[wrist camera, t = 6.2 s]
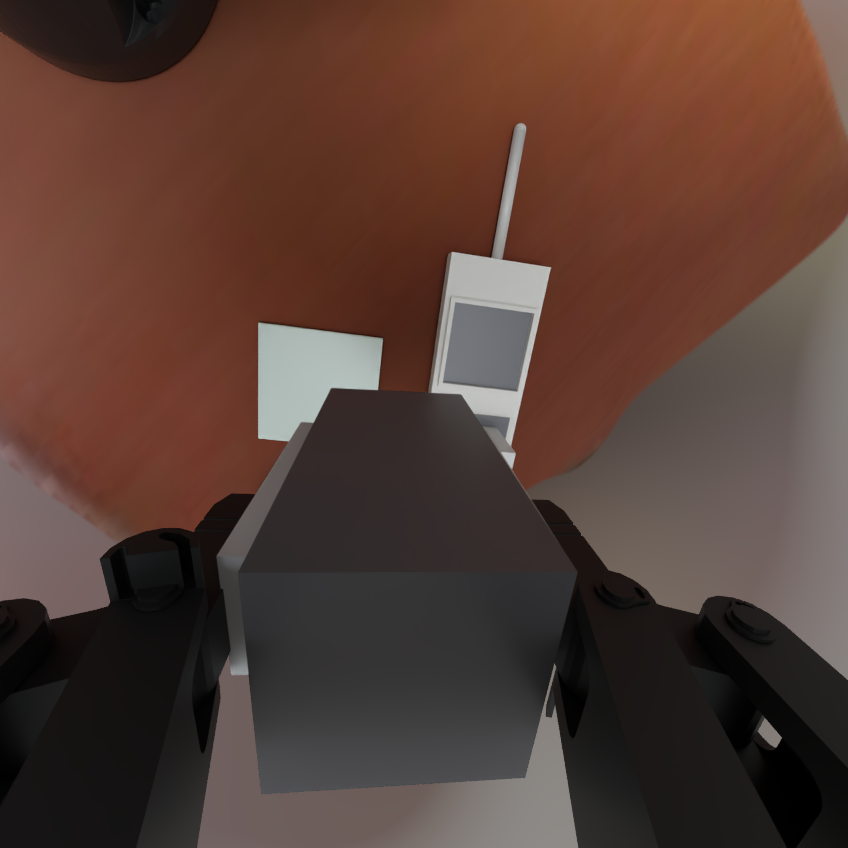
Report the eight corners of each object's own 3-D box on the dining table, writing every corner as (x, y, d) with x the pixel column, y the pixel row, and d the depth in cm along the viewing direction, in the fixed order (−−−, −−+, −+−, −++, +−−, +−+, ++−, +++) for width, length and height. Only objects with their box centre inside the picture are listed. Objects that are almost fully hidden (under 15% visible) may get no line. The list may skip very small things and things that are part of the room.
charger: (328, 387, 13) (229, 573, 5) (461, 394, 14) (577, 572, 5) (329, 502, 15) (254, 794, 6) (449, 504, 15) (524, 777, 7)
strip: (468, 115, 26) (494, 55, 19) (569, 135, 26) (629, 84, 20) (412, 498, 35) (417, 548, 28) (489, 504, 35) (512, 554, 29)
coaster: (260, 322, 29) (258, 322, 28) (383, 338, 30) (383, 338, 29) (260, 436, 32) (258, 438, 31) (372, 446, 33) (371, 449, 32)
